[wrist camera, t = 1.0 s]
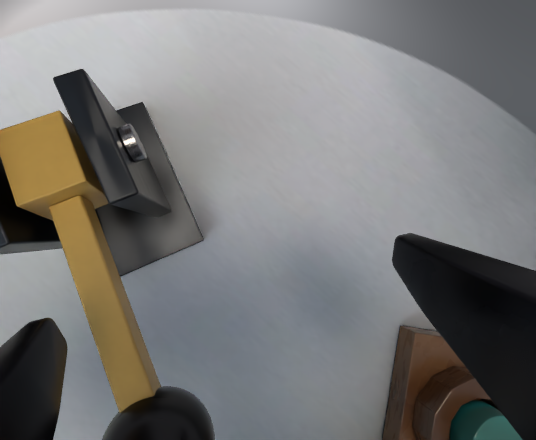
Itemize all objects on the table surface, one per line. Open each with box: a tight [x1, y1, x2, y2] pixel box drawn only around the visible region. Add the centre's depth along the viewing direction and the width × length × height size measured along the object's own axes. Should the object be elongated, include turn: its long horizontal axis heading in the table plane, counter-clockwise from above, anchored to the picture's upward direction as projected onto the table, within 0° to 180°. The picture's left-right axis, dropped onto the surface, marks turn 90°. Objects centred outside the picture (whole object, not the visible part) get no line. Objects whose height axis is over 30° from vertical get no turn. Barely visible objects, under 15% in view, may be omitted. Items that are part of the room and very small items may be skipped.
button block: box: [382, 326, 500, 440], centre depth 21 cm, size 10×8×4 cm
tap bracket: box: [0, 69, 204, 276], centre depth 14 cm, size 9×7×10 cm
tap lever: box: [0, 111, 215, 440], centre depth 11 cm, size 13×3×3 cm, turn 24°
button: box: [449, 400, 522, 440], centre depth 19 cm, size 4×4×2 cm
